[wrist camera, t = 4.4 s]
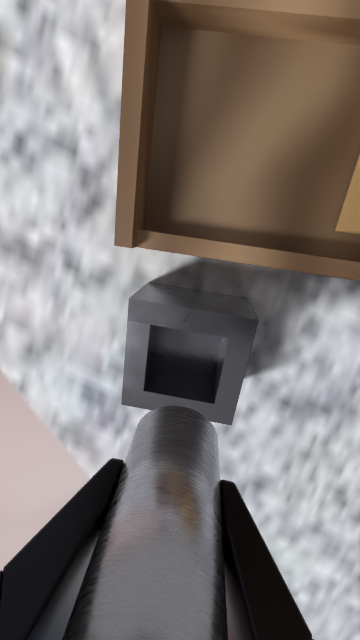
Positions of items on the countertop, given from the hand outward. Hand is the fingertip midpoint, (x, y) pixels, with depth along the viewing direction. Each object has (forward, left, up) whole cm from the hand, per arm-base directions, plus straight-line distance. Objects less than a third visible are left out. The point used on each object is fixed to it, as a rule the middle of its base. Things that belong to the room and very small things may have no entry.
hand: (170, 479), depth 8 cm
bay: (-6, -12, -12) cm, 18 cm away
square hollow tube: (0, 0, -12) cm, 12 cm away
